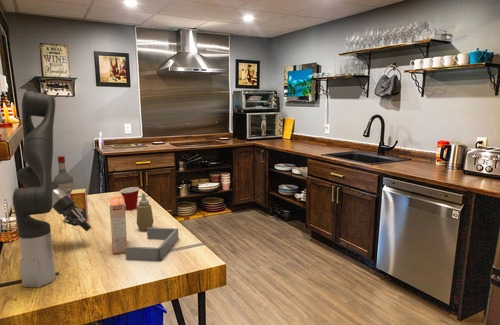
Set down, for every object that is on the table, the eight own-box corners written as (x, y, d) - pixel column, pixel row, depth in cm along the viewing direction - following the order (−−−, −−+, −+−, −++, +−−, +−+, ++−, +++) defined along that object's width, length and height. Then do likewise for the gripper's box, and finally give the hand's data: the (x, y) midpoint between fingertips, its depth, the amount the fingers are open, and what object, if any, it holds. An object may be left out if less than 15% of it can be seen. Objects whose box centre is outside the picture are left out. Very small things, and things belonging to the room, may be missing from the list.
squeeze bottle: (147, 225, 174) (145, 190, 171) (157, 228, 169) (155, 193, 166) (133, 229, 168) (131, 193, 165) (143, 233, 163) (140, 196, 160)
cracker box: (128, 252, 142) (124, 203, 138) (112, 254, 139) (108, 205, 136) (127, 240, 154) (124, 195, 151) (112, 242, 152) (109, 196, 149)
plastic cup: (119, 207, 203) (118, 188, 201) (138, 205, 208) (137, 186, 206) (122, 212, 194) (121, 192, 192) (142, 209, 199) (141, 189, 197)
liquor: (77, 204, 210) (72, 156, 205) (62, 208, 202) (57, 158, 197) (68, 202, 215) (64, 155, 210) (54, 206, 207) (49, 157, 202)
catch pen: (160, 261, 134) (160, 249, 133) (125, 259, 135) (125, 247, 134) (178, 239, 156) (178, 228, 155) (148, 237, 157) (147, 227, 156)
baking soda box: (75, 217, 186) (72, 189, 183) (88, 216, 188) (85, 187, 185) (73, 223, 177) (70, 193, 174) (87, 221, 179) (84, 192, 177)
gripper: (54, 199, 139) (85, 229, 140) (74, 191, 152) (102, 218, 153) (43, 211, 141) (74, 241, 142) (64, 202, 154) (92, 229, 155)
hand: (89, 229), depth 147 cm, fingers closed
